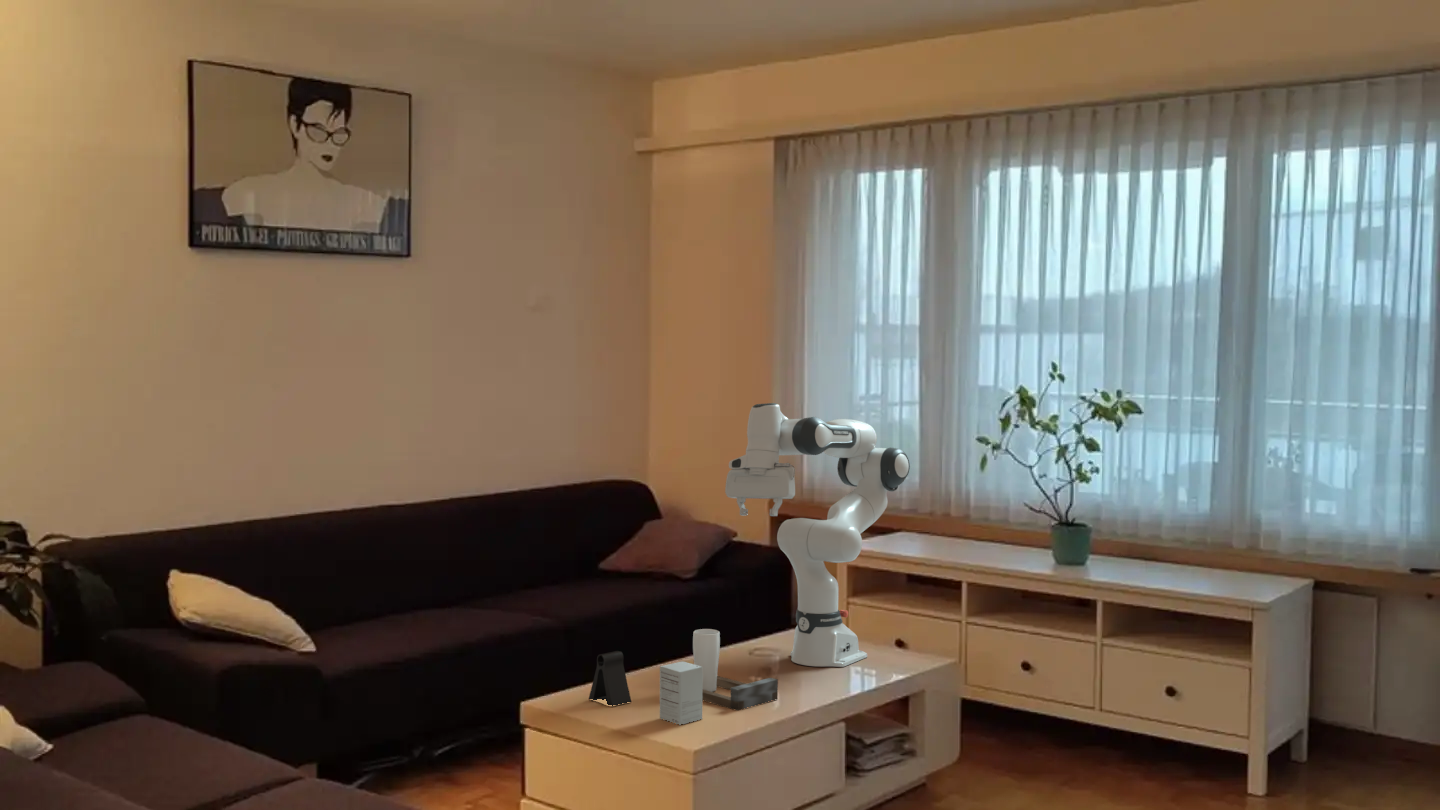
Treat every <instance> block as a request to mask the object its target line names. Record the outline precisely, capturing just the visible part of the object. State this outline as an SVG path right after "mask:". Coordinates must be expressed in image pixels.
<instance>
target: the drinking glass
mask: <svg viewBox="0 0 1440 810" xmlns="http://www.w3.org/2000/svg"><path fill="white" fill-rule="evenodd" d="M692 635H693V636H692V653H693V664H694V665H698V666H701V667H702V689H703V690H707V691H710V692H714V693H715V691H717V687H718V686H717V676H718V673H719V672H718V670H719V660H720V658H719V657H720V650H721V649H720V647H721V646H720V645H721V637H720V635H721V633H720V631H719V630H717V629H712V628H702V629H701V628H700V629H695V630H694V631H693V634H692Z"/></svg>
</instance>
